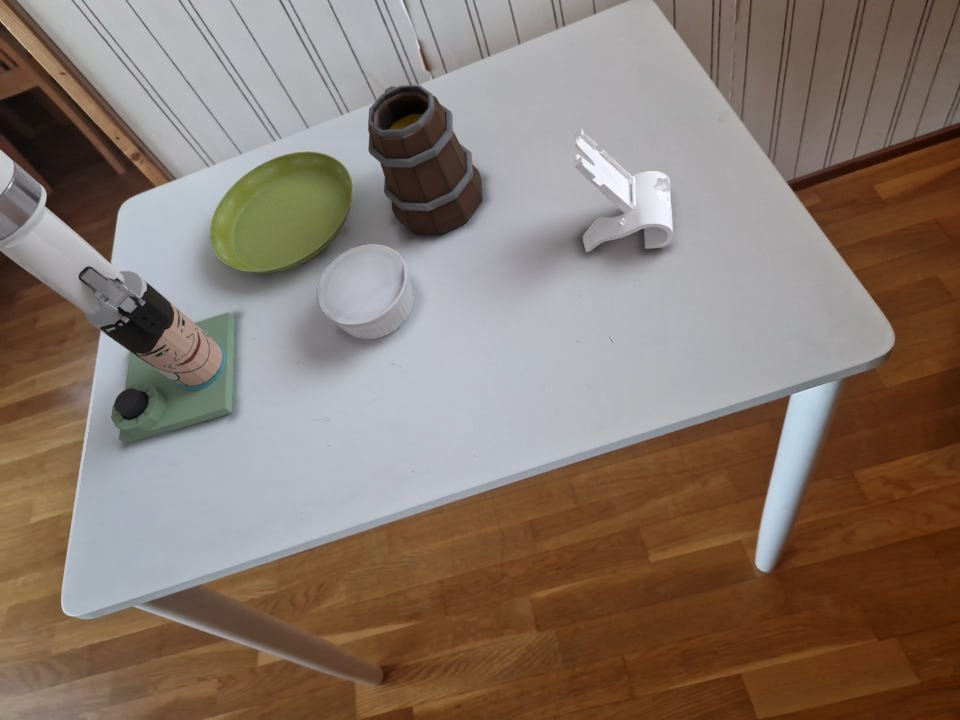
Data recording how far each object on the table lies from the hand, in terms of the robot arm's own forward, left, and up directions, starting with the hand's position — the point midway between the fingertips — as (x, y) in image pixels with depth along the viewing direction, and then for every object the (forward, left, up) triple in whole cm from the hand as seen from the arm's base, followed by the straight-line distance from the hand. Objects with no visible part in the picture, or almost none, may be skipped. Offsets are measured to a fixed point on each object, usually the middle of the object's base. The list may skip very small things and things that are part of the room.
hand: (132, 313), depth 71 cm
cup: (0, 0, -12) cm, 12 cm away
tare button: (-8, +2, -11) cm, 14 cm away
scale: (-2, +3, -13) cm, 14 cm away
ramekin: (+18, -14, -14) cm, 27 cm away
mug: (+36, -9, -14) cm, 39 cm away
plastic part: (+41, -35, -14) cm, 56 cm away
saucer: (+23, +7, -14) cm, 27 cm away
